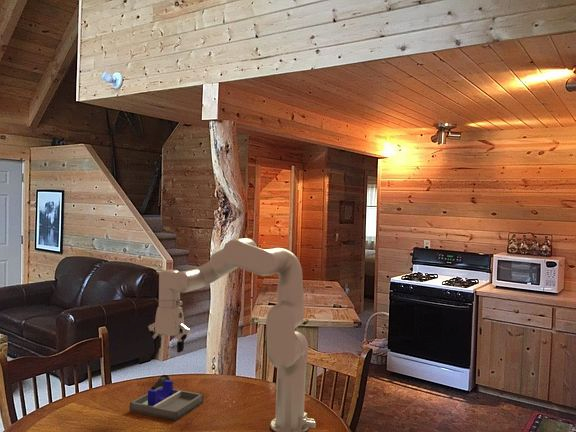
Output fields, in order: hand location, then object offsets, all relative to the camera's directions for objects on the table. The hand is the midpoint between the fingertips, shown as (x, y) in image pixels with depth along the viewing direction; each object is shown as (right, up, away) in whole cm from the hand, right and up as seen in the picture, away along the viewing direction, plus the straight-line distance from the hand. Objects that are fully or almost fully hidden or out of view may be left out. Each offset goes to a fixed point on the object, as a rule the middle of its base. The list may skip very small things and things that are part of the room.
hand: (168, 350), depth 185 cm
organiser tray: (0, -20, -3) cm, 20 cm away
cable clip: (-3, -19, -2) cm, 19 cm away
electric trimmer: (-7, -20, +17) cm, 27 cm away
